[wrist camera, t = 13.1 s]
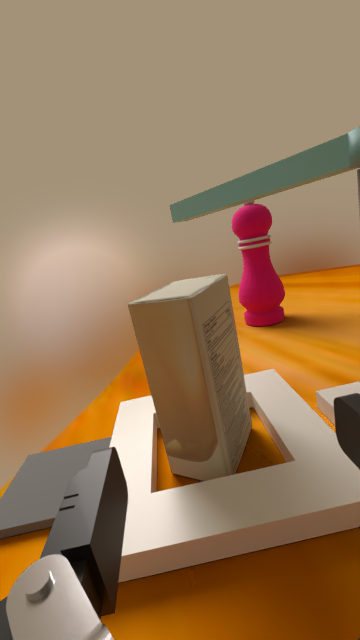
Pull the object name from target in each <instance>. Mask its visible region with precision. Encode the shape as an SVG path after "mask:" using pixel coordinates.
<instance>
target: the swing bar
mask: <svg viewBox="0 0 360 640" xmlns="http://www.w3.org/2000/svg"><path fill="white" fill-rule="evenodd" d="M356 168H360V127H358V128H356V129H354V130H352V131H350V132H349V133H347V134H345V135H343V136H340V137H338V138H335V139H333V140H330V141H328V142H325V143H323V144H321V145H318V146H315V147H313V148H310V149H308V150H305V151H303V152H300V153H298V154H296V155H293V156H291V157H288V158H286V159H283V160H281V161H278V162H276V163H273V164H271V165H268V166H266V167H263V168H261V169H258V170H256V171H254V172H251V173H249V174H246V175H244V176H241V177H239V178H236V179H234V180H232V181H229V182H226V183H224V184H221V185H219V186H216V187H214V188H211V189H209V190H206V191H204V192H202V193H199V194H197V195H194V196H192V197H189V198H187V199H184V200H182V201H179V202H177V203H174V204H172V205H170V210H171V214H172V220H173V222H174V223H175V222H181V221H188V220H191V219H195V218H198V217H201V216H204V215H208V214H211V213H214V212H217V211H221V210H224V209H227V208H230V207H233V206H237V205H240V204H243V203H247V202H250V201H253V200H256V199H260V198H262V197H266V196H269V195H272V194H276V193H279V192H282V191H285V190H288V189H292V188H295V187H298V186H302V185H304V184H308V183H311V182H314V181H318V180H321V179H324V178H327V177H331V176H334V175H337V174H340V173H343V172H347V171H350V170H353V169H356Z"/></svg>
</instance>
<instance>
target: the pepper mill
mask: <svg viewBox="0 0 360 640" xmlns="http://www.w3.org/2000/svg"><path fill="white" fill-rule="evenodd" d="M253 203H254V200H253V201H250V202H247V203H243V204H244V205H245V206H244V207H242V208H240V209H239V210H238V211H237V212H236V213H235V214H234V216H233V219H232V230H233V232H234V233H235V234H236V235H237V236H238V237H239V239H240V241H238V244H239V248H238V249H239V250H241V251H242V255H243V263H244V268H243V269H244V270H243V276H242V280H241V283H240V287H239V301H240V303H241V304H242V305H243V306H244V307H245V308H246V309H247V311H246V312H245V313H244V315H245V322H246V324H247V325H250V326H268V325H273V324H277V323H279V322H281V321H283V320H284V309H283V308H282V307H281V306H279V305H280V303H281V302H282V301H283V299H284V297H285V291H284V287H283V284H282V282H281V280H280V278H279V277H278V275H277V273H276V272H275V270H274V268H273V266H272V263H271V260H270V255H269V244H271V241H270V235H267V234H268V230H269V229H270V227H271V225H272V217H271V213H270V211H269V210H268V209H267V208H266V207H265V206H263V205H260V204H253Z"/></svg>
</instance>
